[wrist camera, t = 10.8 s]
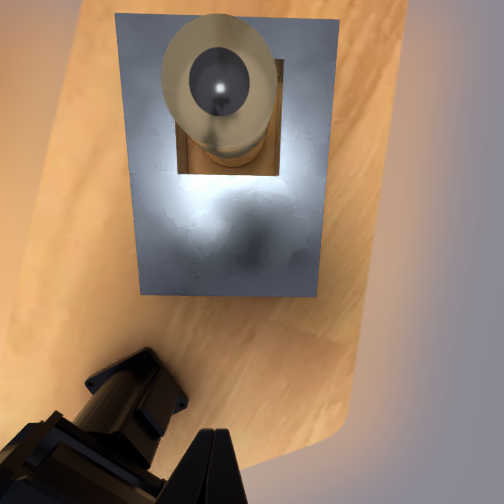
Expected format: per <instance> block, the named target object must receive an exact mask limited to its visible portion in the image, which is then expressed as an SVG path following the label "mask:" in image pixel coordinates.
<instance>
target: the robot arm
mask: <svg viewBox="0 0 504 504" xmlns="http://www.w3.org/2000/svg"><path fill="white" fill-rule="evenodd" d="M144 353H146V354H148V356H147V355H145V354H144ZM92 382H93V383H92ZM85 386H86V387H87V388H88V390H89V391H90V392H91V393H92V394H93V396H92V398H91V399H90V400H89V401H88V403H87V404H86V405H85V406H84V408H83V409H82V410H81V412H80V413H79V414H78V415H77V417H76V418H75V419H74V420H73V422H72V423H71V422H70V421H68V420H67V419H65V418H64V417H62V416H63V414H61V413H60V412H58V411H55V412H54V413H53V414H52V415H51V416H50V417H49V418H48V419H47V420H46V421H45V422H44V421H42V420H41V421H40V423H28V424H27V425H26V426H25V427H24V428H23V429H22V430H21V431H20V432H19V433H18V434H17V435H16V436H15V437H14V438H13V439H12V440H11V441H10V442H9V443H8V444H7V445H6V446H5V447H4V448H3V449H2V450H1V451H0V504H248V501H247V498H246V494H245V490H244V486H243V482H242V478H241V475H240V471H239V467H238V463H237V459H236V455H235V452H234V448H233V444H232V440H231V436H230V432H229V430H228V429H215V431H214V429H208V428H203V429H201V430H200V431H199V432H198V433H197V435H196V437H195V438H194V440H193V441H192V443H191V445H190V446H189V448H188V449H187V451H186V452H185V454H184V456H183V457H182V459H181V460H180V462H179V464H178V465H177V467H176V468H175V470H174V472H173V473H172V475H171V476H170V478H169V479H168V481H167V480H165V479H164V478H163V479H160V478H158V477H157V476H155V475H154V474H152V473H151V472H149V471H147V470H148V469H149V468H150V467H151V464H152V461H153V459H154V456H155V453H156V451H157V448H158V445H159V442H160V440H161V437H163V436H164V435H165V433H166V430H167V427H168V424H169V422H170V419H171V416H172V415H173V414H175V413H177V412H180V411H182V410H184V409H185V408H187V406H188V403H189V400H188V398H187V396H186V395H185V394H184V392H183V391H182V390H181V388H180V387H179V385H178V384H177V383H176V381H175V380H174V378H173V377H172V376H171V374H170V373H169V372H168V370H167V369H166V368H165V367H164V365H163V364H162V363H161V361H160V360H159V359H158V357H157V356H156V355H155V353H154V352H153V351H152V350H151V349H150V348H143V349H142V350H140V351H138V352H136V353H134V354H132V355H130V356H128V357H126V358H124V359H122V360H120V361H119V362H117V363H115V364H113V365H111V366H109V367H107V368H105V369H103V370H101V371H99V372H98V373H96V374H94V375H92V376H90V377H89V378H88V379H87V380H86V381H85ZM181 402H183V403H181Z"/></svg>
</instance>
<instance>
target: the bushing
mask: <svg viewBox="0 0 504 504" xmlns="http://www.w3.org/2000/svg"><path fill="white" fill-rule="evenodd" d="M161 84H162V92H163V96H164V100H165V102H166V105H167V108H168V110H169V112H170V114H171V115H172V117H173V118H174V120H175V121H176V122H177V124H178V125H179V126H180V127H181V128H182V129H183V130H184V131H185V132H186V133H187V134H188V135H189V137H190V138H191V139H192V140H193V141H194V142H195V143H196V144H197V145H198V146H199V147H200V148H201V149H202V150H203V151H204V152H205V153H206V154H207V155H208V156H209V157H210V158H211V159H212V160H213V161H215V162H216V163H218V164H220V165H223V166H227V167H238V166H242V165H245V164H247V163H249V162H250V161H252V160H253V159H254V158H255V157H256V156H257V155H258V153H259V152H260V150H261V148H262V146H263V143H264V140H265V136H266V133H267V129H268V125H269V121H270V118H271V114H272V110H273V106H274V103H275V98H276V94H277V71H276V65H275V62H274V58H273V56H272V53H271V50H270V49H269V47H268V45H267V43H266V42H265V40H264V39H263V37H262V36H261V35H260V34H259V33H258V32H257V31H256V30H255V29H254V28H253V27H252V26H251V25H249V24H248V23H246V22H245V21H243V20H241V19H239V18H237V17H234V16H230V15H227V14H208V15H204V16H201V17H198V18H195V19H194V20H192V21H190V22H188V23H187V24H186V25H184V26H183V27H182V28H181V29H180V30H179V31H178V32H177V33H176V34H175V36H174V37H173V39H172V40H171V42H170V44H169V45H168V47H167V50H166V52H165V55H164V59H163V63H162V70H161Z"/></svg>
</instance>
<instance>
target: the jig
mask: <svg viewBox="0 0 504 504" xmlns="http://www.w3.org/2000/svg"><path fill="white" fill-rule="evenodd" d="M198 17H201V16H199V15H166V14H132V13H115V23H116V34H117V45H118V56H119V66H120V77H121V88H122V99H123V109H124V120H125V131H126V142H127V152H128V163H129V174H130V185H131V195H132V206H133V217H134V228H135V238H136V249H137V260H138V271H139V281H140V292H141V295H174V296H257V297H316V295H317V284H318V272H319V260H320V248H321V236H322V224H323V212H324V200H325V189H326V177H327V165H328V153H329V141H330V129H331V117H332V105H333V94H334V82H335V70H336V58H337V46H338V34H339V22H340V20H334V19H300V18H267V17H237V18H239V19H241V20H243V21H245V22H246V23H248V24H249V25H251V26H252V27H253V28H254V29H255V30H256V31H257V32H258V33H259V34H260V35H261V36H262V37H263V39H264V40H265V42H266V43H267V45H268V47H269V49H270V50H271V53H272V56H273V58H274V62H275V65H276V71H277V81H279V86H278V112H277V139H276V165H275V176H239V175H188V167H187V143H186V132H185V131H184V130H183V129H182V128H181V127H180V126H179V125H178V124H177V122H176V121H175V120H174V118H173V117H172V115H171V114H170V112H169V110H168V108H167V105H166V102H165V100H164V96H163V92H162V84H161V70H162V63H163V59H164V55H165V52H166V50H167V47H168V45H169V44H170V42H171V40H172V39H173V37H174V36H175V34H176V33H177V32H178V31H179V30H180V29H181V28H182V27H183V26H184V25H186V24H187V23H188V22H190V21H192V20H194V19H195V18H198Z"/></svg>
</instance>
